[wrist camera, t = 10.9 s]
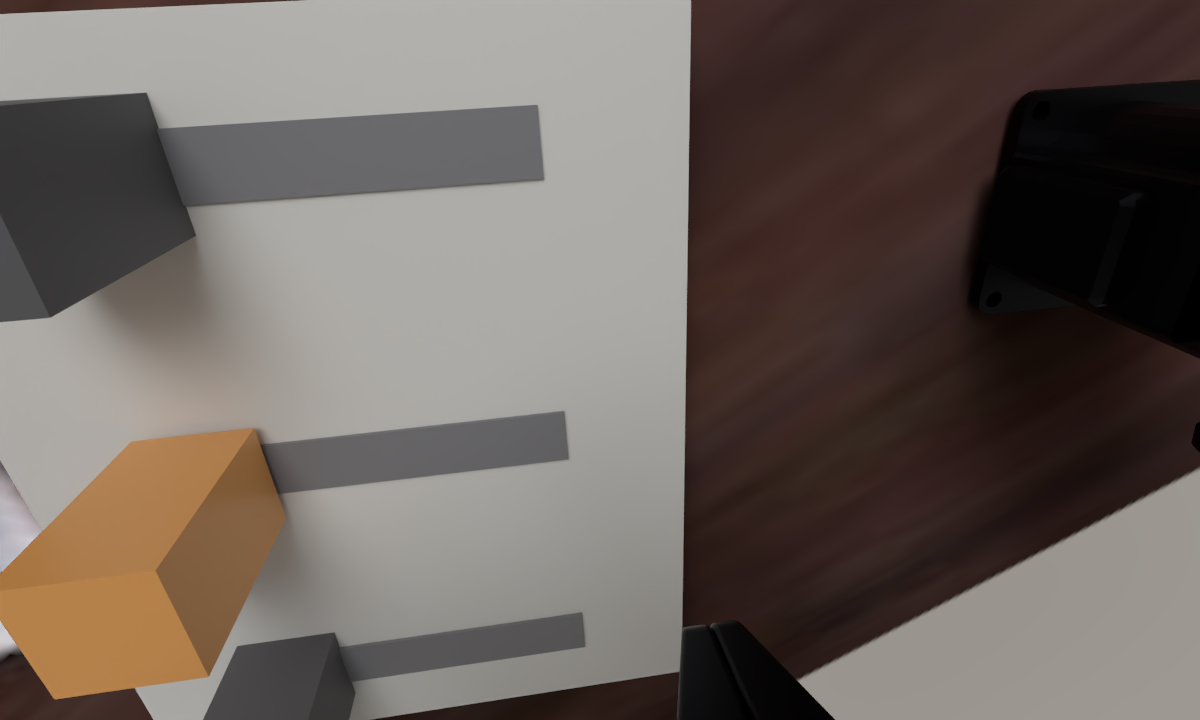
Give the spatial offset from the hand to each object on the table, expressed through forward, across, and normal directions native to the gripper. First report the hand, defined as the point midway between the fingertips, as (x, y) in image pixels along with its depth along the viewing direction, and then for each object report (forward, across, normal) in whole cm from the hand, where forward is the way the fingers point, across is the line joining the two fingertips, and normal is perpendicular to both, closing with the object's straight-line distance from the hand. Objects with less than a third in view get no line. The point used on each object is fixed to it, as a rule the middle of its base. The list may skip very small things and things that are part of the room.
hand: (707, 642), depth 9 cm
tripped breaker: (+9, +11, +2) cm, 14 cm away
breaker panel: (+11, +7, +2) cm, 13 cm away
